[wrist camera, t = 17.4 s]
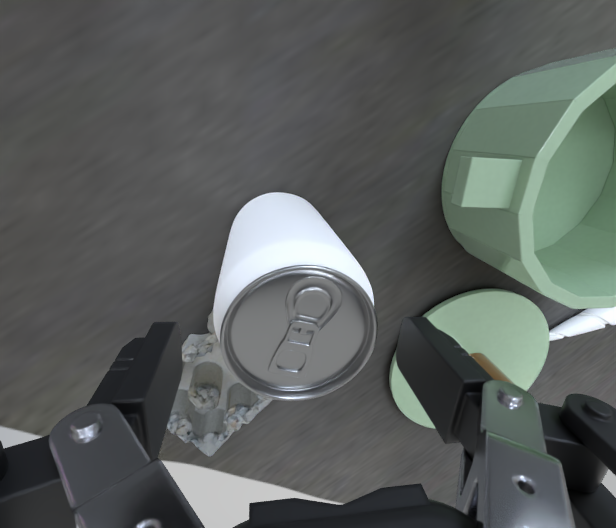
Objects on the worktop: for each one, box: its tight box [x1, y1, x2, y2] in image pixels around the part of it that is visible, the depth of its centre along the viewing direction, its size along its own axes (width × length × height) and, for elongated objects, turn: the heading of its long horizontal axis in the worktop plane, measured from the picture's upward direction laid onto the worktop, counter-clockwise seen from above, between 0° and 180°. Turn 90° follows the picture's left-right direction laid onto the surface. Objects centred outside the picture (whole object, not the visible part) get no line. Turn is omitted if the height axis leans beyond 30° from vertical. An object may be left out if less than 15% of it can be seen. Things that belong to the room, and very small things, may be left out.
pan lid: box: [389, 289, 550, 429], centre depth 27 cm, size 15×15×6 cm
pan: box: [441, 48, 616, 309], centre depth 20 cm, size 14×19×8 cm
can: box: [213, 192, 378, 401], centre depth 17 cm, size 6×6×12 cm
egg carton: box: [167, 310, 273, 457], centre depth 24 cm, size 11×8×4 cm
